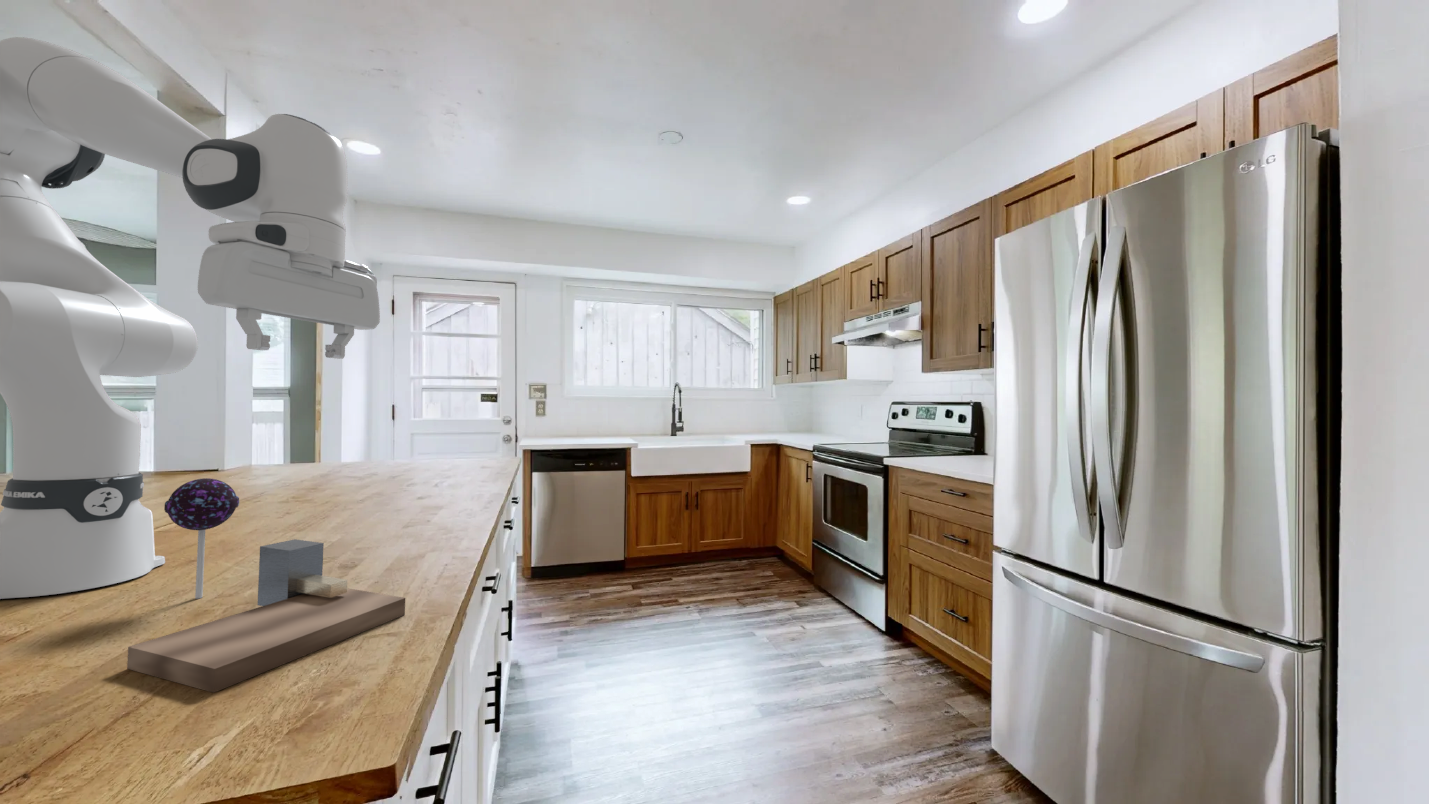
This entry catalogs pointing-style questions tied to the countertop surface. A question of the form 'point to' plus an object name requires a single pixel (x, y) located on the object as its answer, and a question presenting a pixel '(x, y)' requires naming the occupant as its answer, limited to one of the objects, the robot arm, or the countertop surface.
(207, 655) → the board
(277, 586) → the upright grey metal block
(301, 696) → the countertop surface
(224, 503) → the lollipop
